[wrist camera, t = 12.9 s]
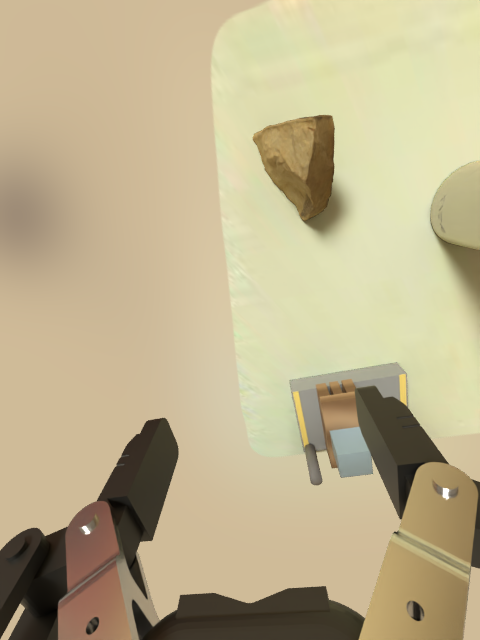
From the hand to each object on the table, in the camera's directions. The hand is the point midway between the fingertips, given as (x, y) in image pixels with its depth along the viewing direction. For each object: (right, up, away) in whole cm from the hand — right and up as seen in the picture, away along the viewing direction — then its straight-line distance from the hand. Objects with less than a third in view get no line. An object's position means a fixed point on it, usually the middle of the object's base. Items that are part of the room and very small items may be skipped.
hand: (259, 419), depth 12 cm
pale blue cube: (+14, -12, +27) cm, 33 cm away
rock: (+5, +21, +22) cm, 31 cm away
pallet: (+14, -10, +31) cm, 35 cm away
